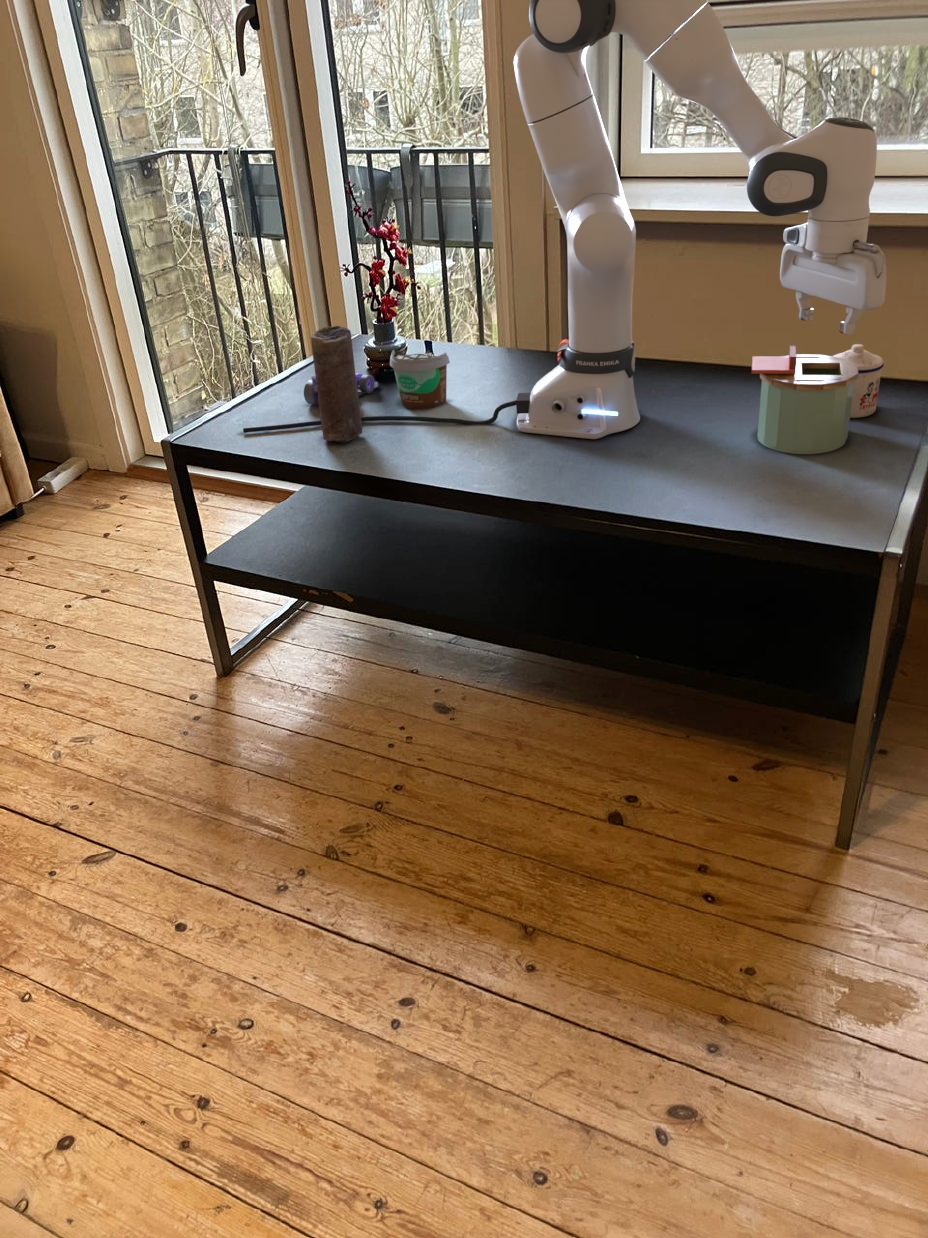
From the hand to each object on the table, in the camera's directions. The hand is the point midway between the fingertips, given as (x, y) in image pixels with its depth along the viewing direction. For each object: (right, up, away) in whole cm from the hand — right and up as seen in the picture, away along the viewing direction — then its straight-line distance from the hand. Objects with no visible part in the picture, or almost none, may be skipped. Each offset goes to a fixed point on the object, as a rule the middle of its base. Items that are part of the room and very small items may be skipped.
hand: (825, 326), depth 161 cm
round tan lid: (-1, -7, +5) cm, 8 cm away
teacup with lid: (+12, -9, +21) cm, 25 cm away
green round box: (0, -16, +11) cm, 19 cm away
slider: (-7, -5, +5) cm, 10 cm away
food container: (-67, -5, +39) cm, 77 cm away
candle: (-80, -13, +27) cm, 85 cm away
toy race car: (-82, -1, +46) cm, 94 cm away
